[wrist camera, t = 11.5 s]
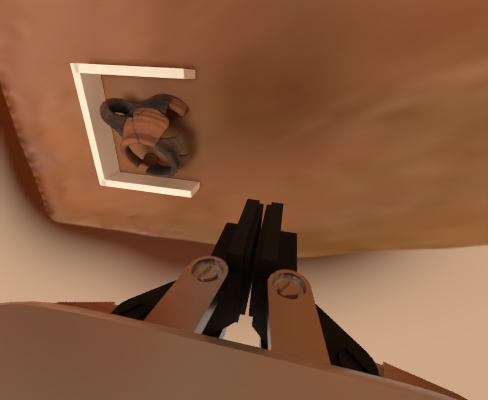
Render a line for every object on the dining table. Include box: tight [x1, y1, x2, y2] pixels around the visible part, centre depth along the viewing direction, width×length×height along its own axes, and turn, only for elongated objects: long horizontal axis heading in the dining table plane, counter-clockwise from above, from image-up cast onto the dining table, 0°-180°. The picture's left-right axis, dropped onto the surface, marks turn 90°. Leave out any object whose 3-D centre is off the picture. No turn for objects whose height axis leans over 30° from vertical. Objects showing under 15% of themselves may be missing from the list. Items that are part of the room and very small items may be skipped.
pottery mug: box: [100, 95, 191, 178], centre depth 32 cm, size 12×10×8 cm
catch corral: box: [70, 63, 200, 197], centre depth 33 cm, size 16×14×4 cm
